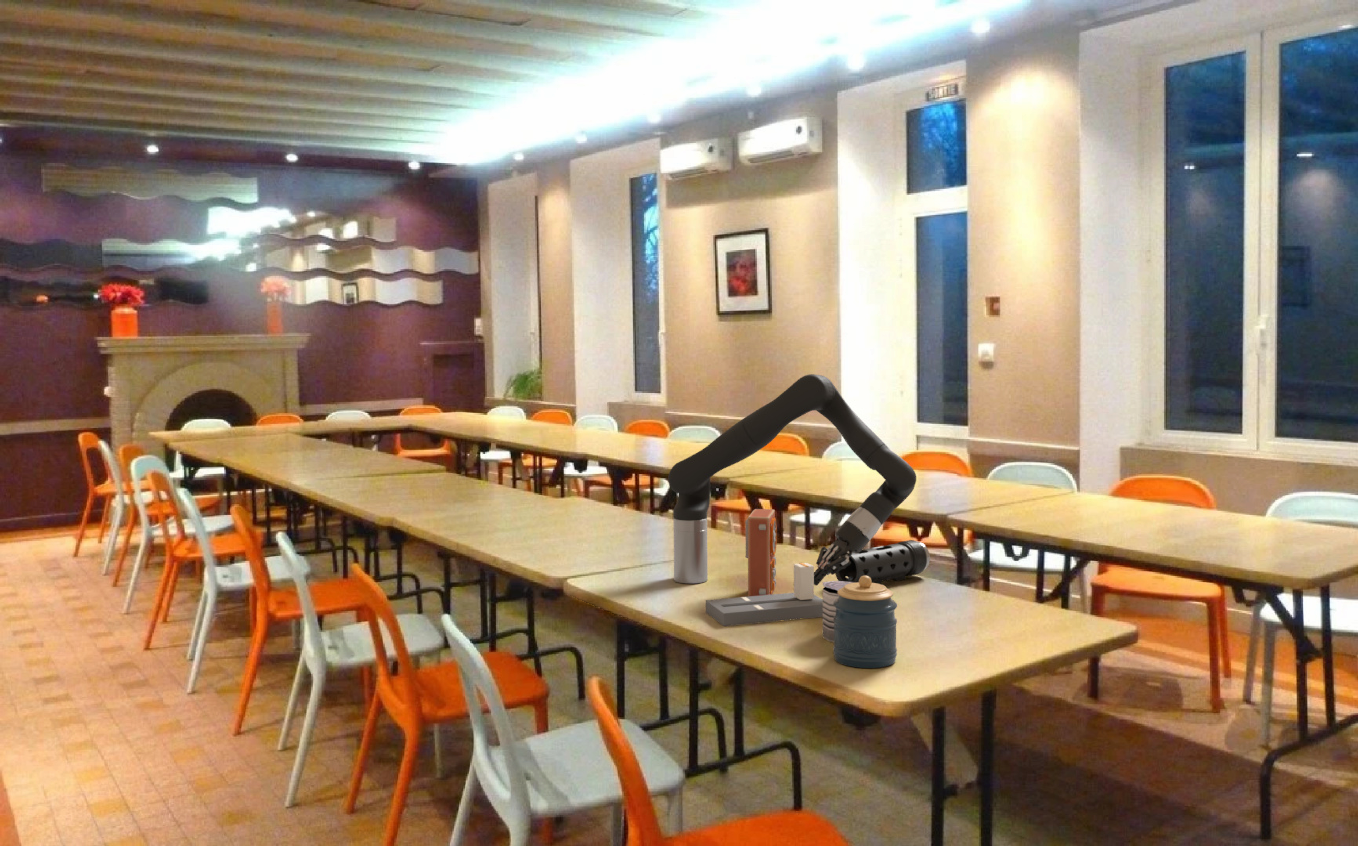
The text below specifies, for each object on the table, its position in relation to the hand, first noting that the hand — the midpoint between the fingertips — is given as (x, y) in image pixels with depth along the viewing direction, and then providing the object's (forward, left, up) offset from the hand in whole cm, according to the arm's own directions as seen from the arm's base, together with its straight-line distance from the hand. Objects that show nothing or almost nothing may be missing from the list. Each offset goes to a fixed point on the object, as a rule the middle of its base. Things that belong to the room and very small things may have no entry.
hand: (812, 582), depth 264 cm
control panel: (-18, -6, -7) cm, 20 cm away
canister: (+40, -6, -7) cm, 41 cm away
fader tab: (0, -2, -3) cm, 4 cm away
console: (0, -12, -7) cm, 14 cm away
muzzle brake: (-20, +30, -7) cm, 37 cm away
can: (+24, -2, -7) cm, 25 cm away
